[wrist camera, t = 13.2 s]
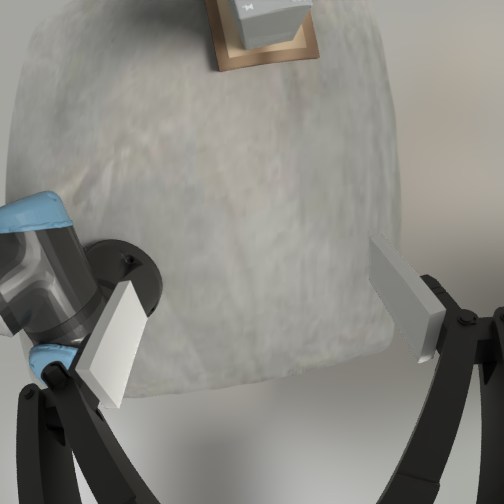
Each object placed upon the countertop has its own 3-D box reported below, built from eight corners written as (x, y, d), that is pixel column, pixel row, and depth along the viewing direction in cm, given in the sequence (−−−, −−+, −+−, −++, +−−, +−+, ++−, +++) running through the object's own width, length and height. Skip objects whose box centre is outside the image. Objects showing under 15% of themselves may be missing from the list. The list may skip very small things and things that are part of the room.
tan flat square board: (220, 72, 36) (219, 70, 34) (202, -10, 30) (201, -14, 28) (317, 58, 35) (319, 56, 33) (298, -22, 29) (300, -26, 27)
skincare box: (292, 41, 32) (325, 9, 18) (238, 52, 33) (237, 23, 19) (275, -13, 29) (295, -67, 15) (221, -2, 29) (211, -54, 15)
